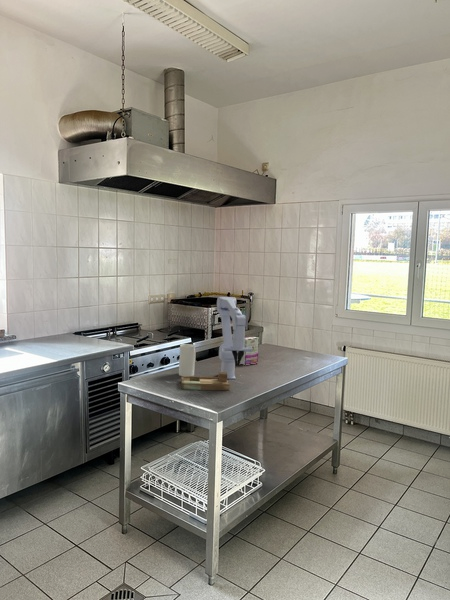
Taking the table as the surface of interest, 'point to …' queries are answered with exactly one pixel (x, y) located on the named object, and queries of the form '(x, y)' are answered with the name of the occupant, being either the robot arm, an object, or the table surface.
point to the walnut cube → (222, 376)
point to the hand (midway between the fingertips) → (237, 365)
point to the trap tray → (203, 383)
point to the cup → (187, 360)
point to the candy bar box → (250, 356)
